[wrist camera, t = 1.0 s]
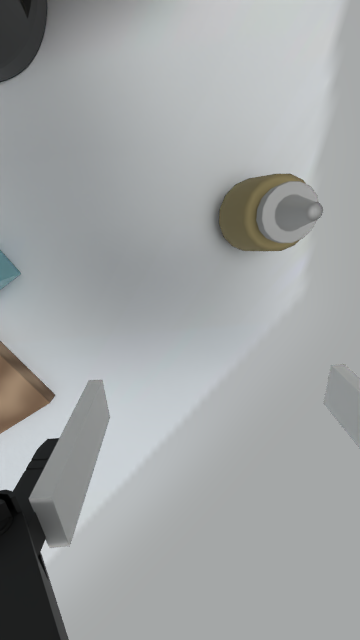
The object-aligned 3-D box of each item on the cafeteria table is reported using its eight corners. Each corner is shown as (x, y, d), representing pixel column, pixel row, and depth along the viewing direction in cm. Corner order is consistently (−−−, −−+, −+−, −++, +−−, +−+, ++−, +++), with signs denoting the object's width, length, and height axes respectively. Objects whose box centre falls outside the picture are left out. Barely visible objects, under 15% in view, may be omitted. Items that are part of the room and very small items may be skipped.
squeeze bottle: (265, 253, 36) (346, 281, 19) (208, 242, 35) (239, 261, 18) (283, 189, 33) (398, 155, 16) (222, 176, 32) (274, 125, 15)
